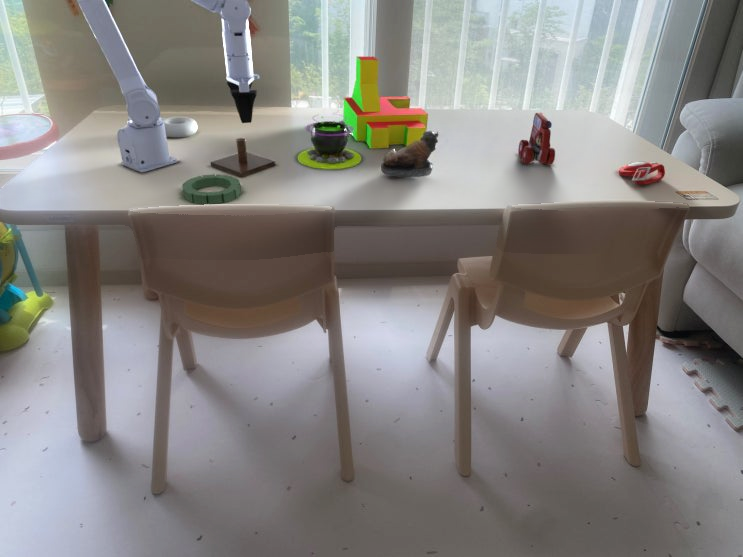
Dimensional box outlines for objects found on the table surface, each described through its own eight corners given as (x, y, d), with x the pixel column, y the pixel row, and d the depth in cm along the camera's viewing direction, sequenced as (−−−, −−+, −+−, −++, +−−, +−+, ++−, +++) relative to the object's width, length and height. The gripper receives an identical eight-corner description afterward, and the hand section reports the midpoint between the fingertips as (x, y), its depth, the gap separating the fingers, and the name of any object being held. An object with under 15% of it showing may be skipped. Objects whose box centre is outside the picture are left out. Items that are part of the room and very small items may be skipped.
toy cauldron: (372, 156, 128) (374, 109, 122) (338, 174, 117) (338, 124, 111) (321, 144, 134) (321, 99, 128) (284, 160, 123) (282, 112, 117)
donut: (189, 141, 133) (204, 129, 141) (187, 127, 131) (202, 116, 139) (151, 138, 133) (168, 126, 142) (148, 124, 132) (165, 113, 140)
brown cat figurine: (380, 180, 115) (382, 134, 110) (380, 168, 121) (382, 124, 116) (435, 182, 115) (440, 136, 110) (432, 171, 121) (437, 127, 116)
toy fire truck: (525, 168, 125) (534, 124, 119) (515, 151, 135) (523, 110, 130) (555, 170, 125) (565, 125, 119) (543, 152, 135) (552, 111, 130)
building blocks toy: (361, 148, 132) (363, 71, 123) (343, 120, 153) (344, 53, 143) (432, 146, 136) (440, 71, 127) (405, 119, 157) (410, 53, 147)
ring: (250, 197, 105) (249, 188, 104) (194, 209, 99) (193, 200, 98) (228, 178, 112) (227, 170, 111) (175, 188, 107) (173, 180, 106)
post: (241, 177, 113) (238, 150, 110) (210, 166, 118) (207, 139, 115) (275, 165, 120) (273, 139, 117) (244, 155, 125) (242, 130, 122)
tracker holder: (609, 165, 126) (651, 155, 126) (611, 183, 127) (651, 173, 127) (636, 171, 114) (682, 161, 114) (637, 191, 116) (682, 181, 115)
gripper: (261, 59, 109) (266, 125, 116) (253, 48, 121) (258, 108, 128) (226, 60, 107) (233, 127, 114) (221, 48, 119) (228, 110, 126)
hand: (244, 117), depth 121 cm, fingers open, 7 cm apart
